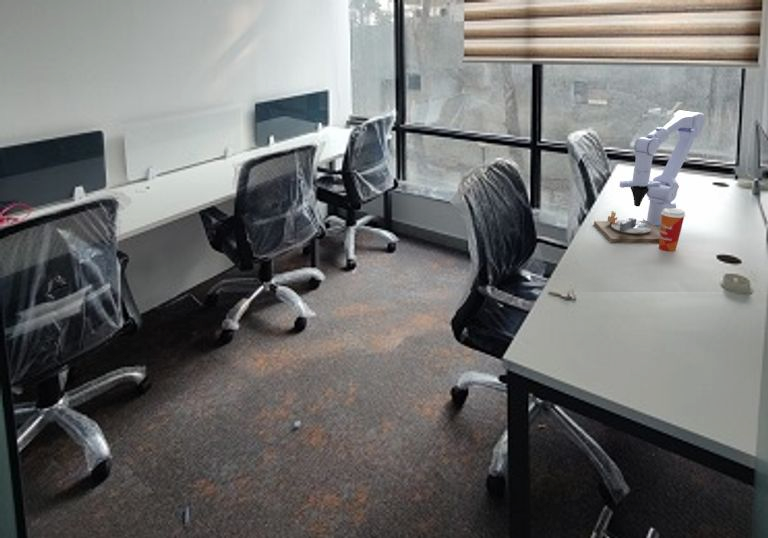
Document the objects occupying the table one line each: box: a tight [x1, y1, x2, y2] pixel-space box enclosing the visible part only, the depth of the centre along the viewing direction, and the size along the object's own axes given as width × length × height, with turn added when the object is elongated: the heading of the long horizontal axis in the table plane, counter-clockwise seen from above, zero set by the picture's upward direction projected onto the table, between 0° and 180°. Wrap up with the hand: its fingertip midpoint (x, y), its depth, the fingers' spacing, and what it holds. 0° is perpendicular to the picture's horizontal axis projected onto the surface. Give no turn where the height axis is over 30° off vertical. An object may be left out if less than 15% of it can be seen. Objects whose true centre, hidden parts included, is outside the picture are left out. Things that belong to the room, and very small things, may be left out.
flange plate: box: [607, 215, 651, 234], centre depth 231 cm, size 16×16×4 cm
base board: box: [593, 220, 660, 244], centre depth 232 cm, size 21×21×2 cm
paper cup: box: [658, 207, 686, 253], centre depth 214 cm, size 8×8×14 cm
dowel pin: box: [610, 210, 617, 225], centre depth 237 cm, size 2×2×5 cm
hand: (636, 205), depth 234 cm, fingers closed
